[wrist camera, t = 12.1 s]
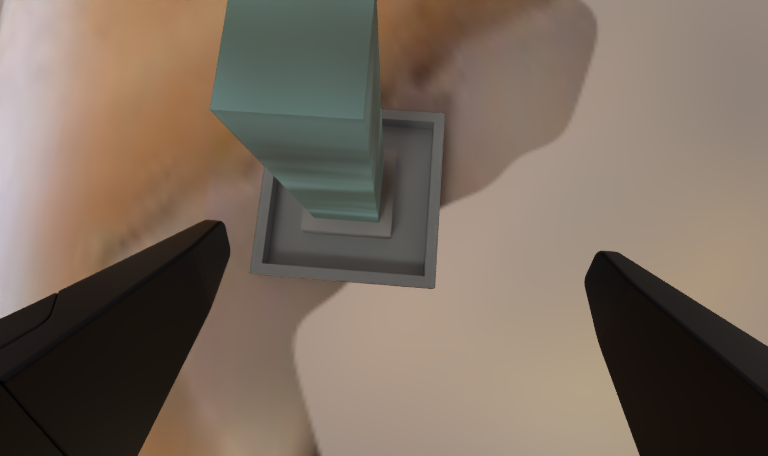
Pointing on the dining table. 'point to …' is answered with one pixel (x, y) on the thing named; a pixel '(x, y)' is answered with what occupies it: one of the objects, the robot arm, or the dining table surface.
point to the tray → (361, 254)
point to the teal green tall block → (311, 107)
